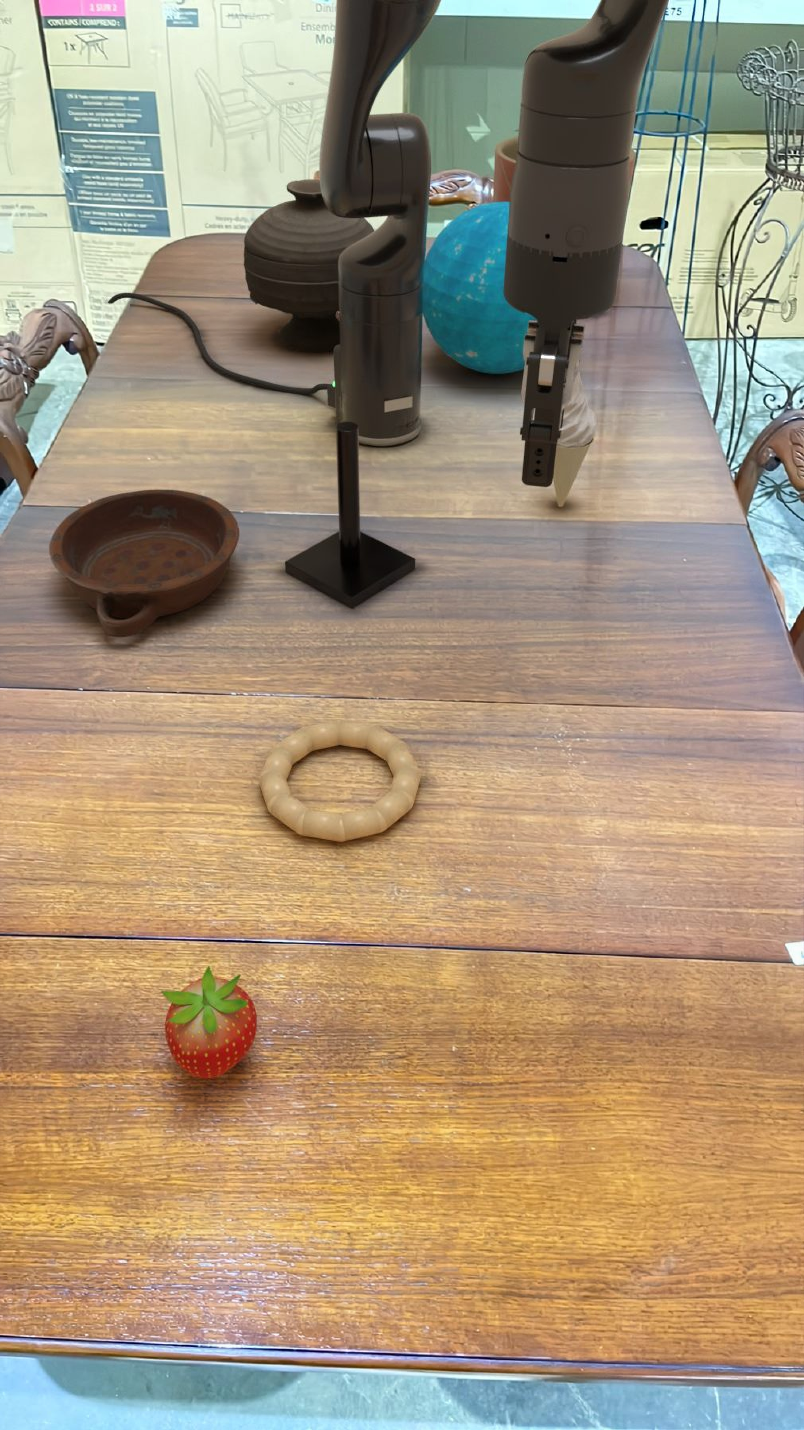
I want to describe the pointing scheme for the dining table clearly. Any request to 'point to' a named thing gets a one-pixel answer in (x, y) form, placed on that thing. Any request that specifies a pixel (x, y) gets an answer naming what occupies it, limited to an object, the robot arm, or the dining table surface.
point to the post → (349, 540)
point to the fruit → (210, 1025)
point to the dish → (144, 554)
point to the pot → (301, 265)
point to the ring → (329, 822)
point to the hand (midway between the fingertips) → (542, 456)
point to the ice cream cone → (573, 441)
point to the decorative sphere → (474, 293)
